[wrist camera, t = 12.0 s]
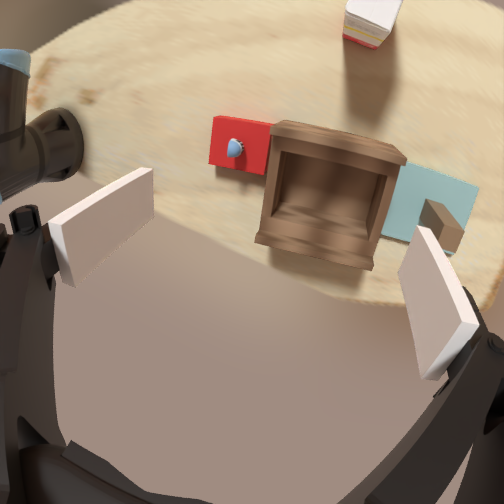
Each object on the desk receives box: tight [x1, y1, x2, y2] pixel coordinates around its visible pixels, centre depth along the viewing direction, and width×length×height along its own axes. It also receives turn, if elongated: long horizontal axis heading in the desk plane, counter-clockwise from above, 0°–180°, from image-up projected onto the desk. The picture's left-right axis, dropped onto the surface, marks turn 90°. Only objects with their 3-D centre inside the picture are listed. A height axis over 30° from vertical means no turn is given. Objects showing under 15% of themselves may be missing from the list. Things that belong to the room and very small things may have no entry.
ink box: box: [342, 0, 403, 50], centre depth 23 cm, size 9×5×12 cm, turn 161°
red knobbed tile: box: [209, 116, 274, 175], centre depth 38 cm, size 8×7×6 cm
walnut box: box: [254, 120, 407, 271], centre depth 37 cm, size 15×14×9 cm
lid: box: [381, 161, 479, 255], centre depth 34 cm, size 13×11×10 cm
